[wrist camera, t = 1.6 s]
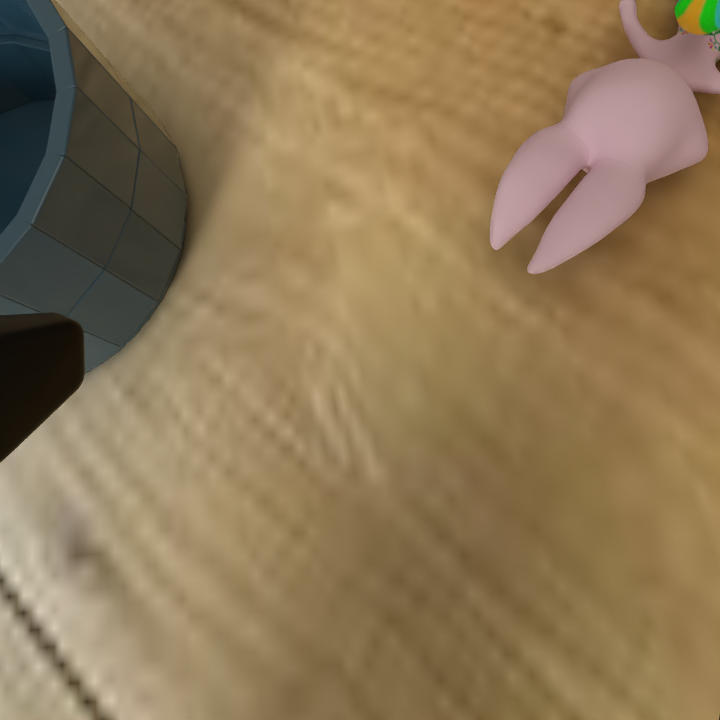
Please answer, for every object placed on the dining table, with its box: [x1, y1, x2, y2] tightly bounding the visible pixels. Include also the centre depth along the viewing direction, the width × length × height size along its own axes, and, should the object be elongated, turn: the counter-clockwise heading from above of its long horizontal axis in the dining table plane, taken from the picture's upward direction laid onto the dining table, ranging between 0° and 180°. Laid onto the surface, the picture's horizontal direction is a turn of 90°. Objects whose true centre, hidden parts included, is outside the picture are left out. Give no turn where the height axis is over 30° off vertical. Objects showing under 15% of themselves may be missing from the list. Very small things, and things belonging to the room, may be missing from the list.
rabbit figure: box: [490, 0, 720, 274], centre depth 21 cm, size 6×6×15 cm
